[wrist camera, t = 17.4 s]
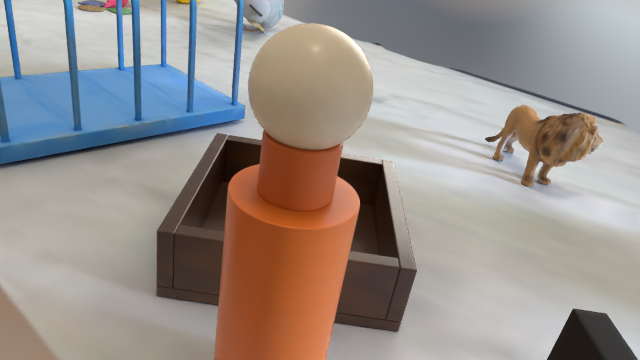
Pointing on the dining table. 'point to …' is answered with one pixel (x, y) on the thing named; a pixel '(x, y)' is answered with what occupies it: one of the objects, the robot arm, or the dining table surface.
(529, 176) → the lion figurine
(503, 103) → the dining table surface
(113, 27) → the dining table surface
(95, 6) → the toy pieces
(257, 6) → the decorative toy
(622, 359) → the robot arm
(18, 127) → the file sorter
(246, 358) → the skittle
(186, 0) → the duckling
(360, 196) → the crate
